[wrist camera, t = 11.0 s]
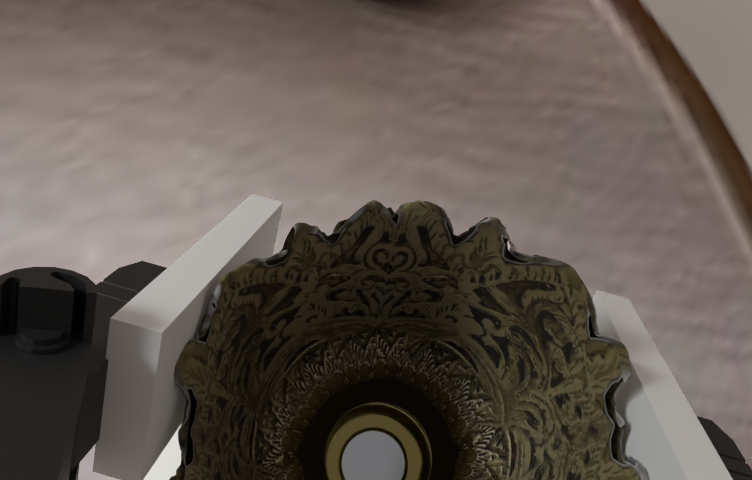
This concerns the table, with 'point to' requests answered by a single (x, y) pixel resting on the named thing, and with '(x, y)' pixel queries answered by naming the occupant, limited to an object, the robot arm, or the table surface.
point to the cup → (403, 359)
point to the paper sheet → (359, 463)
